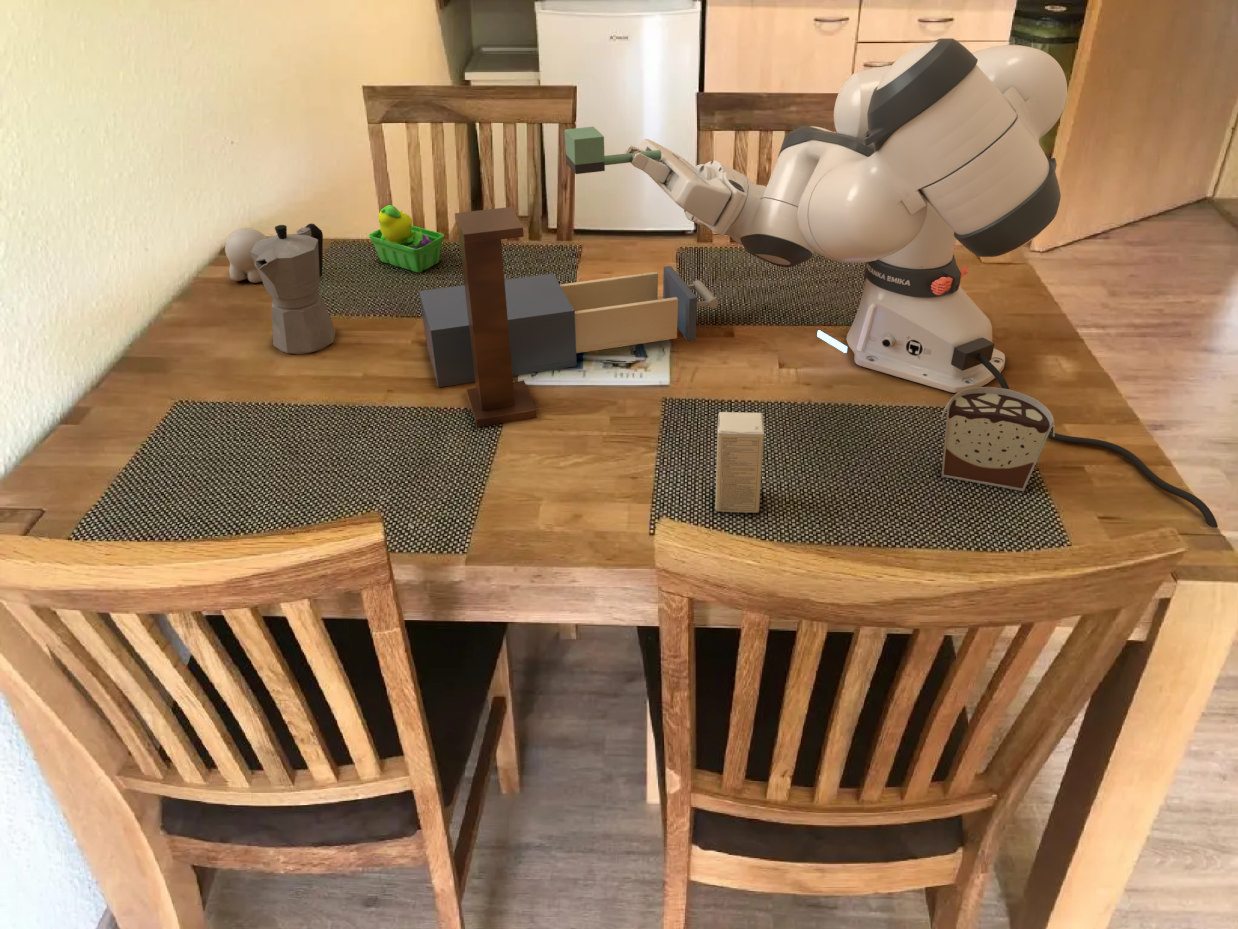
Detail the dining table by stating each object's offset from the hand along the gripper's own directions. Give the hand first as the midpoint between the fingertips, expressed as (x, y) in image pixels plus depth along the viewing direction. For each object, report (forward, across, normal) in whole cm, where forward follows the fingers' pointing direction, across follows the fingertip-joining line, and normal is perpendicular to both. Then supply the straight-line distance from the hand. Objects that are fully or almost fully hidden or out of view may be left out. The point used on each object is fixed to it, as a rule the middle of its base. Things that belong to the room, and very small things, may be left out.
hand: (630, 154), depth 130 cm
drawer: (-14, 0, +22) cm, 27 cm away
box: (-14, +42, +24) cm, 51 cm away
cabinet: (+3, 0, +34) cm, 34 cm away
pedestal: (+5, +14, +35) cm, 38 cm away
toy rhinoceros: (+31, -39, +50) cm, 71 cm away
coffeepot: (+26, -15, +47) cm, 56 cm away
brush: (+1, 0, +2) cm, 2 cm away
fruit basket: (+11, -38, +38) cm, 55 cm away
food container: (-40, +45, +9) cm, 61 cm away
